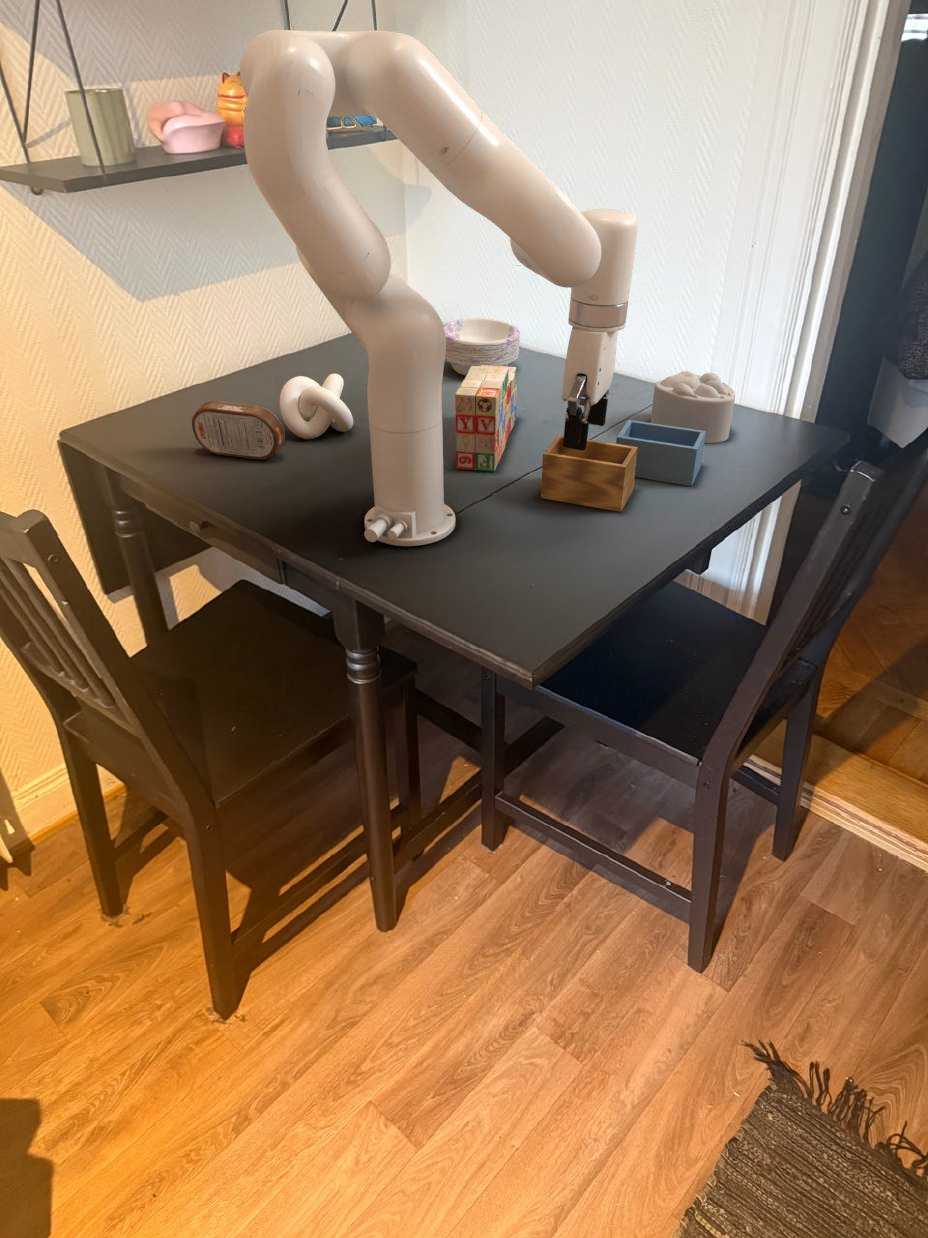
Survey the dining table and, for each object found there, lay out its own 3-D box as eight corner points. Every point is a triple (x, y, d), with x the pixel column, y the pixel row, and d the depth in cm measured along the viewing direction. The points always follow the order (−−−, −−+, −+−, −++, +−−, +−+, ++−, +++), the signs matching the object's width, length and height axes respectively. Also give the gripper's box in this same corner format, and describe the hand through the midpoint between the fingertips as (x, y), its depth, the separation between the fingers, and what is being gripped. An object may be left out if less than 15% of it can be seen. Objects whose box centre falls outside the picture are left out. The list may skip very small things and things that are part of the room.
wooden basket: (633, 490, 137) (637, 446, 133) (621, 512, 131) (625, 466, 128) (555, 477, 141) (557, 434, 137) (540, 497, 135) (542, 453, 131)
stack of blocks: (481, 416, 161) (481, 346, 154) (516, 419, 160) (518, 348, 153) (455, 469, 143) (454, 392, 136) (495, 472, 142) (496, 395, 135)
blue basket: (700, 467, 144) (706, 430, 140) (691, 486, 138) (697, 449, 135) (624, 455, 147) (628, 419, 144) (613, 473, 142) (616, 436, 138)
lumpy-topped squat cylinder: (680, 410, 163) (686, 361, 158) (743, 431, 155) (752, 381, 150) (642, 425, 157) (647, 376, 152) (705, 449, 149) (713, 397, 144)
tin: (288, 456, 148) (282, 406, 143) (280, 464, 145) (273, 413, 140) (203, 446, 151) (194, 396, 146) (193, 454, 149) (184, 404, 144)
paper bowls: (528, 379, 176) (529, 337, 171) (450, 386, 173) (449, 344, 168) (506, 353, 188) (507, 314, 183) (433, 359, 185) (432, 319, 180)
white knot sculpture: (298, 414, 162) (292, 364, 157) (365, 418, 160) (361, 367, 155) (278, 440, 153) (271, 388, 148) (348, 444, 151) (344, 392, 146)
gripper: (588, 293, 129) (576, 411, 138) (550, 325, 115) (539, 453, 125) (641, 300, 127) (625, 419, 136) (608, 334, 113) (593, 463, 123)
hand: (584, 435), depth 131 cm, fingers open, 9 cm apart
